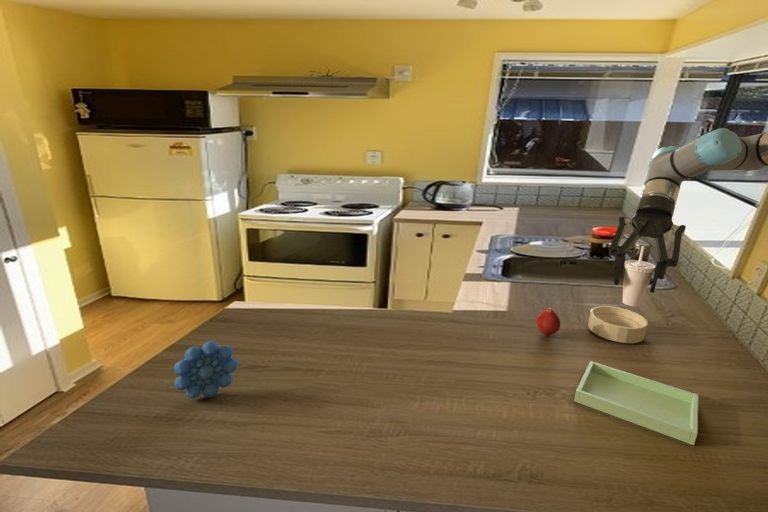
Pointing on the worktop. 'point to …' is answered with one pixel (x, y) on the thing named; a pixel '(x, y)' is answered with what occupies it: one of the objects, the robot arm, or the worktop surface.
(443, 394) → the worktop surface
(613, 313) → the bowl
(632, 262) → the smoothie
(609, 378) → the tray
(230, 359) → the blue flower
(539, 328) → the onion
